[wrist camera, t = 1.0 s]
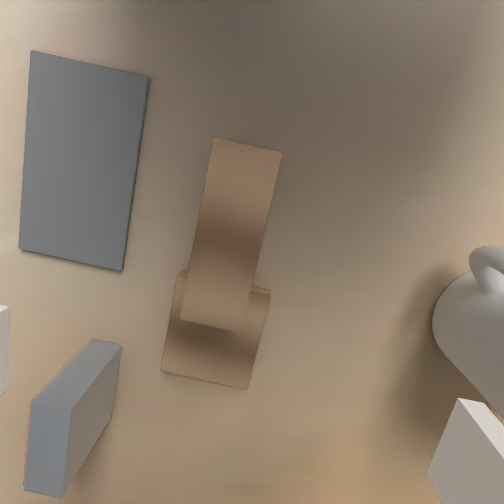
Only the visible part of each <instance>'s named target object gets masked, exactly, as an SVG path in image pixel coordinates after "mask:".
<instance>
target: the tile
mask: <svg viewBox="0 0 504 504" xmlns="http://www.w3.org/2000/svg"><path fill="white" fill-rule="evenodd" d="M121 349H122V345H119V344H114V343H110V342H105V341H101V340H96V339H91V340H90V341H88V342H87V343H86V344H85V345H84V346H83V347H82V348H81V349H80V350H79V351H78V352H77V353H76V354H75V356H74V357H73V358H72V359H71V360H70V361H69V362H68V363H67V364H66V365H65V366H64V367H63V368H62V369H61V370H60V371H59V372H58V373H57V374H56V375H55V376H54V377H53V378H52V379H51V380H50V381H49V382H48V383H47V384H46V385H45V386H44V387H43V388H42V389H41V390H40V391H39V392H38V393H37V394H36V395H35V396H34V397H33V398H32V399H31V400H30V403H29V416H28V429H27V442H26V454H25V467H24V480H23V485H24V491H28V492H33V493H37V494H42V495H47V496H51V497H56V498H62V497H63V495H64V493H65V492H66V490H67V488H68V487H69V485H70V484H71V482H72V480H73V479H74V477H75V475H76V474H77V472H78V470H79V469H80V467H81V466H82V464H83V462H84V461H85V459H86V457H87V456H88V454H89V452H90V451H91V449H92V448H93V446H94V444H95V443H96V441H97V439H98V438H99V436H100V434H101V433H102V431H103V430H104V428H105V426H106V425H107V423H108V421H109V420H110V418H111V416H112V410H113V404H114V397H115V390H116V383H117V376H118V369H119V363H120V356H121Z"/></svg>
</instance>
